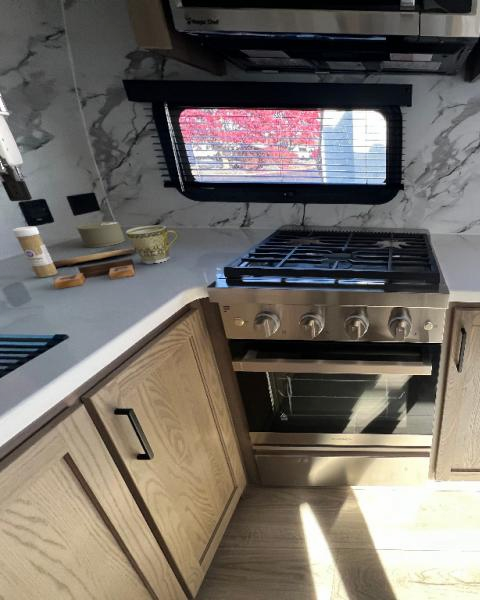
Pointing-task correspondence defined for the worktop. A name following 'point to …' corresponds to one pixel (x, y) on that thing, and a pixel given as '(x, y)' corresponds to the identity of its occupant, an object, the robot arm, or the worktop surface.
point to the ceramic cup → (151, 243)
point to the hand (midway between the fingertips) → (21, 200)
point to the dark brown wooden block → (103, 267)
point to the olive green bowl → (101, 234)
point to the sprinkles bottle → (35, 251)
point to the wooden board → (91, 257)
